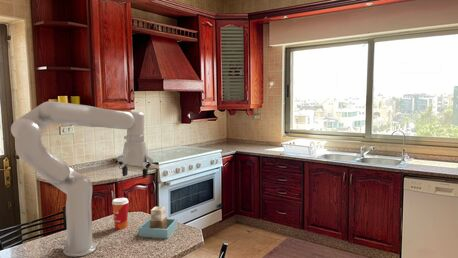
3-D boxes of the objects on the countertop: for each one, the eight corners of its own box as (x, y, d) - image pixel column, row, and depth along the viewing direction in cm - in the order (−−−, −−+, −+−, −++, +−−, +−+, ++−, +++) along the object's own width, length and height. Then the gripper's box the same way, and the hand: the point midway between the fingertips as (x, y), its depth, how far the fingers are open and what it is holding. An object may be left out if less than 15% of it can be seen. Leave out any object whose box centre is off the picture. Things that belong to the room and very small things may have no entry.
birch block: (151, 220, 156) (150, 209, 156) (155, 216, 161) (155, 206, 161) (161, 221, 156) (161, 210, 155) (165, 217, 160) (165, 207, 160)
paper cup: (111, 226, 166) (110, 198, 165) (128, 224, 170) (127, 196, 168) (113, 232, 159) (112, 203, 158) (130, 229, 163) (129, 201, 161)
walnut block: (150, 233, 157) (149, 220, 156) (155, 228, 162) (154, 216, 162) (162, 234, 156) (162, 221, 155) (167, 229, 161) (167, 217, 161)
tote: (138, 237, 154) (138, 227, 153) (150, 226, 167) (150, 217, 166) (167, 239, 151) (167, 230, 151) (177, 228, 165) (177, 219, 164)
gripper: (113, 138, 152) (113, 176, 153) (149, 141, 149) (149, 179, 150) (122, 137, 159) (121, 173, 161) (156, 139, 156) (156, 176, 157)
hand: (134, 176), depth 155 cm, fingers open, 9 cm apart
